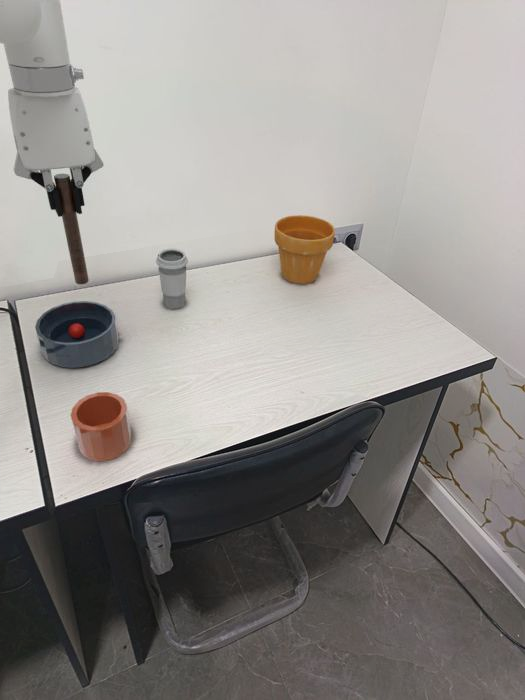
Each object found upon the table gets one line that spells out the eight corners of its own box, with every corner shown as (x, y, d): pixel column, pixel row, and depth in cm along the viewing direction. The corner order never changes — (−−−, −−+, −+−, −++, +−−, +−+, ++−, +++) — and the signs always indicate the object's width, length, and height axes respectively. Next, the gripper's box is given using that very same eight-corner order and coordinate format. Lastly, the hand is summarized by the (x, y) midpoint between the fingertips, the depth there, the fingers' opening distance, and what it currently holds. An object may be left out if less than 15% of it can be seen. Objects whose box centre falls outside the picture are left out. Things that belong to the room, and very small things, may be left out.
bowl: (49, 378, 89) (42, 352, 86) (36, 335, 99) (30, 310, 95) (127, 358, 95) (124, 333, 91) (108, 319, 105) (104, 295, 101)
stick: (76, 285, 83) (55, 179, 72) (74, 279, 85) (52, 174, 74) (90, 283, 84) (70, 177, 73) (87, 277, 86) (67, 172, 74)
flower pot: (266, 262, 128) (270, 215, 120) (319, 261, 131) (325, 214, 123) (277, 291, 118) (281, 241, 110) (334, 289, 120) (342, 239, 112)
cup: (159, 295, 113) (155, 247, 106) (188, 294, 114) (186, 247, 107) (159, 312, 108) (155, 263, 100) (190, 311, 109) (188, 262, 101)
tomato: (71, 343, 97) (69, 330, 95) (68, 334, 99) (65, 322, 97) (87, 339, 98) (85, 327, 96) (84, 331, 100) (81, 319, 98)
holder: (85, 468, 74) (77, 437, 70) (74, 432, 80) (66, 401, 75) (137, 450, 78) (133, 419, 73) (123, 417, 83) (118, 386, 79)
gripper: (97, 72, 71) (113, 196, 82) (-27, 75, 65) (9, 209, 76) (110, 82, 66) (126, 214, 77) (-23, 87, 60) (16, 229, 71)
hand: (68, 211), depth 77 cm, fingers closed on stick, 2 cm apart
